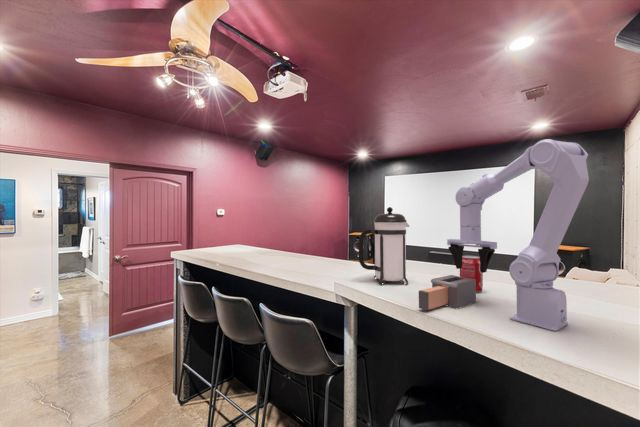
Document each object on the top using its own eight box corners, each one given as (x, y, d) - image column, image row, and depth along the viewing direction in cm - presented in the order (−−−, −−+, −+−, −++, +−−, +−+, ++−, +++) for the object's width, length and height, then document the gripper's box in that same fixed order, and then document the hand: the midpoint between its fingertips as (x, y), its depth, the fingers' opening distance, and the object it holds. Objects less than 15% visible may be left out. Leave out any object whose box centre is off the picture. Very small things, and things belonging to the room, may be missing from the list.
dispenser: (451, 296, 92) (451, 275, 92) (476, 302, 85) (475, 279, 85) (431, 302, 86) (430, 279, 86) (456, 309, 79) (455, 284, 79)
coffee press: (384, 275, 124) (383, 207, 125) (417, 282, 112) (416, 206, 112) (357, 281, 113) (357, 207, 113) (391, 289, 101) (390, 206, 101)
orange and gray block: (448, 299, 86) (448, 283, 86) (455, 301, 84) (455, 285, 84) (418, 307, 79) (418, 290, 79) (426, 310, 77) (426, 292, 77)
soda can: (477, 288, 102) (476, 255, 102) (486, 294, 95) (486, 258, 95) (456, 288, 102) (456, 255, 102) (464, 293, 95) (464, 258, 95)
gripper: (441, 226, 92) (441, 268, 91) (488, 227, 79) (488, 275, 79) (454, 225, 95) (454, 265, 95) (500, 226, 83) (500, 272, 83)
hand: (470, 270), depth 88 cm, fingers open, 7 cm apart
